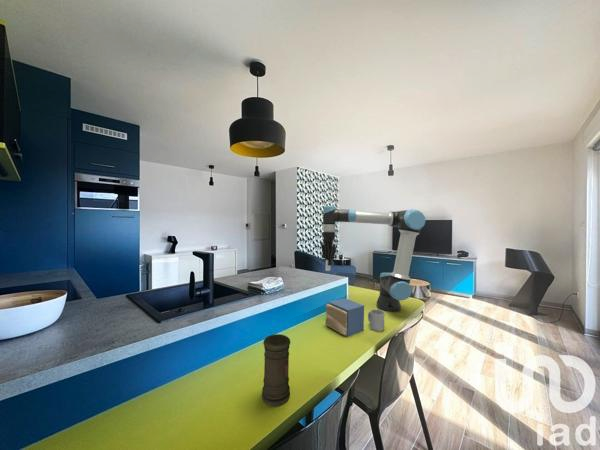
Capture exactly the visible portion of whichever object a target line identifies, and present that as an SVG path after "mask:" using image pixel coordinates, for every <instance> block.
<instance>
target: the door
mask: <svg viewBox="0 0 600 450" xmlns="http://www.w3.org/2000/svg"><path fill="white" fill-rule="evenodd" d="M325 311H326V312H325V326H327V327H329V328H331V329H332V330H334V331H336V332H337V333H340V334H341V335H343V336H345V335H347V312H345V311H343V310H341V309H338V308H336V307H334V306H332V305H329V303H327V304H325Z"/></svg>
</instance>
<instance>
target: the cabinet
mask: <svg viewBox="0 0 600 450" xmlns="http://www.w3.org/2000/svg"><path fill="white" fill-rule="evenodd" d="M328 304H329V305H332V306H334V307H336V308H338V309H341V310H343V311H345V312H347V335H344V336H345V337H350V336H353V335H356V334H359V333H361V332H364V330H365V329H364V328H365V325H364V323H365V305H363V304H361V303H358V302H356V301H353V300H350V299H348V298H339V299H335V300H331V301H328Z"/></svg>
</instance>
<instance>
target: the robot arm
mask: <svg viewBox="0 0 600 450" xmlns="http://www.w3.org/2000/svg"><path fill="white" fill-rule="evenodd" d="M322 210H323V211H322V231H323V232H322V241H321V242H320V243H319V244H320V247H321V254H322V258H323V259H324V265H325V271H326V272H330V271H331V268H332V267H331V266H332V260H334V259H335V256H336V252H337V247H338V243H336V242H335V239H336V223H339V222H340V223H354V224H355V223H357V224H358V223H359V224H373V225H374V224H375V225H387V226H388V227H395V228H398V232H399V233H400V234H399V235H400V236H399V240H398V246H397V251H396V255H395V256H396V257H395V260H394V265H393V266H394V267H393V271H392V272H381V273H380V275H379V295H378V299H377V301H376V308H378V310H381V311H384V312H385V311H386V312H393V313H395V312H400V311H402V304H401V303H400V302H401V301H406V300H407V299H409V298H410V297H411V295H412V293H413V292H412V286H411V285H410V283H411V277H410V276H409V273H410V268H411V263H412V258H413V253H414V248H415V245H416V244H415V243H416V239H417V236H418V235H420V233H421V229H423V227H424V226H425V224H426V216H425V214H424V213H423V212H422V211H420V210H419V209H413V208H411V209H407V210H400V211H399V210H398V211H389V212H381V211H380V212H379V211H377V212H376V211H361V210H360V211H357V210H355V209H337V206H335V205H325V206H323V209H322Z"/></svg>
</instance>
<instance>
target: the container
mask: <svg viewBox="0 0 600 450" xmlns="http://www.w3.org/2000/svg"><path fill="white" fill-rule="evenodd" d="M290 345H291V339H290V338H289V337H288V335H287V336H286V335H284V334H278V333H277V334H271V335H268V336H266V337H265V338H264V339H263V347H264V353H263V357H264V367H263V369H264V371H263V372H264V374H263V375H264V376H263V387H262V392H261V398H262V401H263V403H264V404H266V405H267V406H269V407H279V406H283V405H284V404H286V403H288V401H289V399H290V396H291V391H290V390H291V389H290V385H289V384H290V378H289V366H290V365H289V364H290V362H289V358H290V357H289V356H290V352H289V349H290Z"/></svg>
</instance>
